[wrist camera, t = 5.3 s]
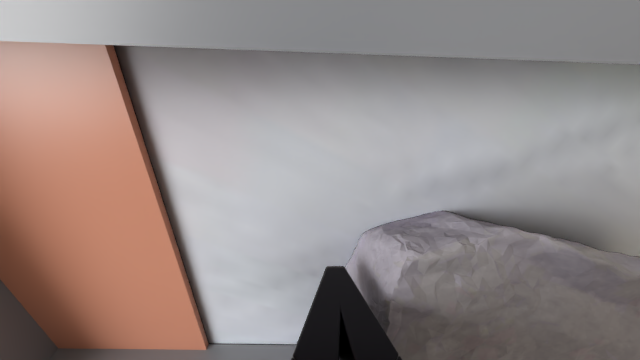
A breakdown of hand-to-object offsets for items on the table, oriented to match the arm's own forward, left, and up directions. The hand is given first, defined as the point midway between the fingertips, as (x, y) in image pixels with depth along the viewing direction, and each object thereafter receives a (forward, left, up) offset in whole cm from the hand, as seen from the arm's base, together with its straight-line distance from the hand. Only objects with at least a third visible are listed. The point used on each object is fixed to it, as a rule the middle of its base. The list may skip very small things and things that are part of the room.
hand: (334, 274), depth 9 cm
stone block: (-3, -7, -2) cm, 7 cm away
